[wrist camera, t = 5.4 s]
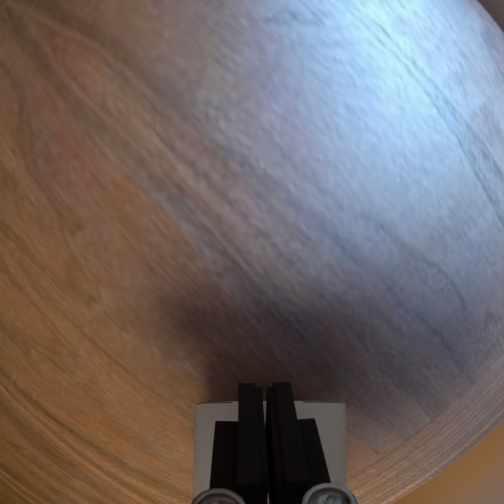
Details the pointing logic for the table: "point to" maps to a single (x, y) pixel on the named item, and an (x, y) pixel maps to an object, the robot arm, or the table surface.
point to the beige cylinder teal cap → (207, 413)
